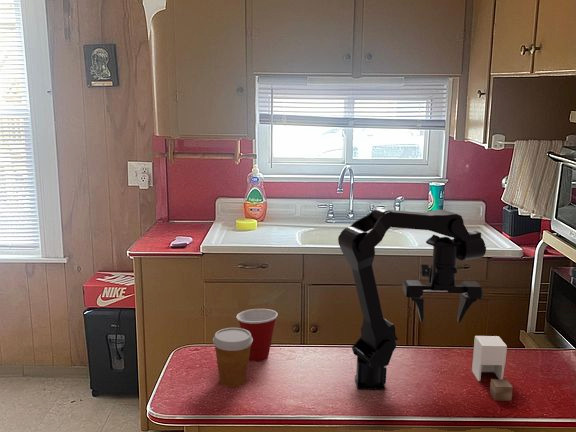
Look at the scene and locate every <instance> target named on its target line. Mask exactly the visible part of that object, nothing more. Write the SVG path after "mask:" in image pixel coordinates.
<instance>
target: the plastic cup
mask: <svg viewBox="0 0 576 432" xmlns="http://www.w3.org/2000/svg"><path fill="white" fill-rule="evenodd" d="M235 318H236V319H237V321H238V323H239V328H241V329H245V330H248V331H249V332H250V333H251V337H252V338H253V342H252V344H251V347H250V355H249V361H252V362H263V361H266V360H267V359H269V354H270V349H271V347H272V346H271V345H272V341H273V336H274V335H273V334H274V328H275V325H276V324H275V323H276V320H277V318H278V312H277V311H276V310H273V309H270V308H269V309H267V308H253V309H246V310H243V311H241V312H239V313H237V315H236V316H235Z"/></svg>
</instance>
